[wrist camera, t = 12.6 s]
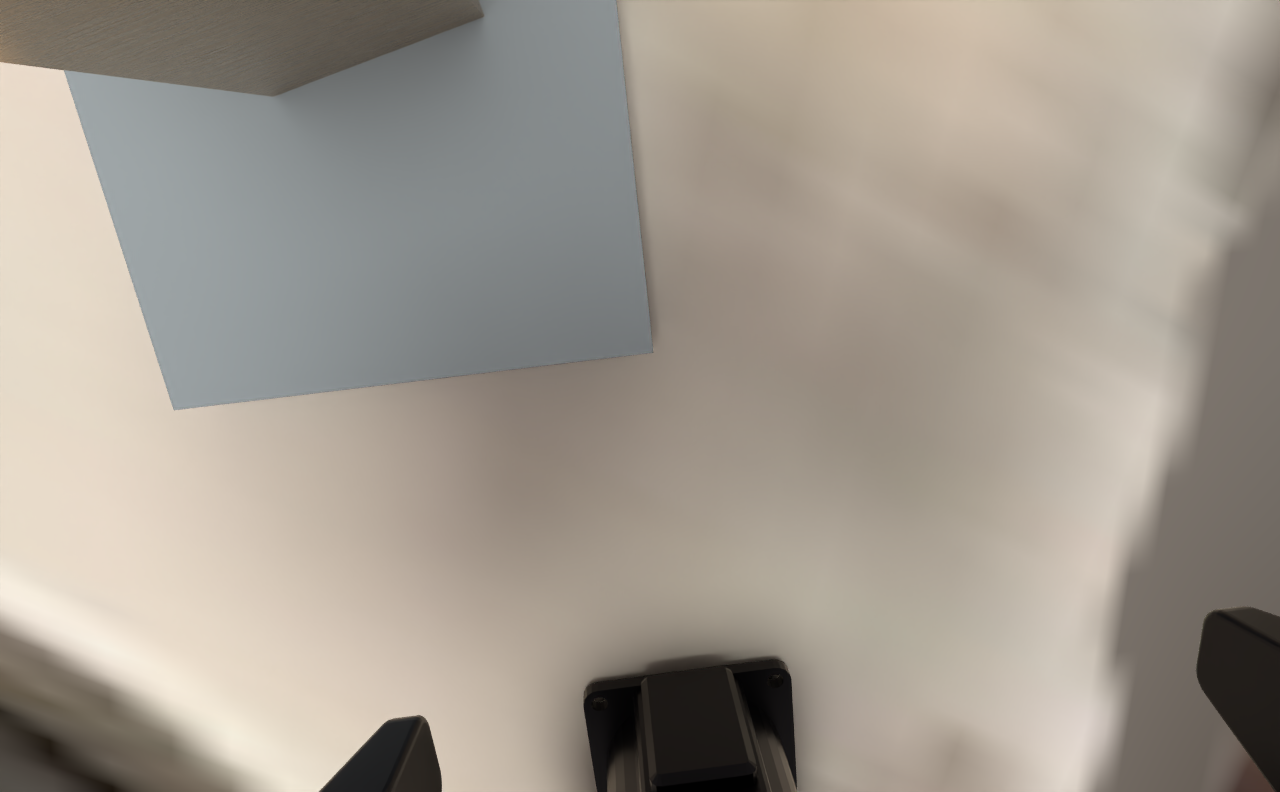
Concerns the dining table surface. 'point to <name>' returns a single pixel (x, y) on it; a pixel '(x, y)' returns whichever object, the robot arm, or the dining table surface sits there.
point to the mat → (384, 211)
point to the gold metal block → (220, 37)
